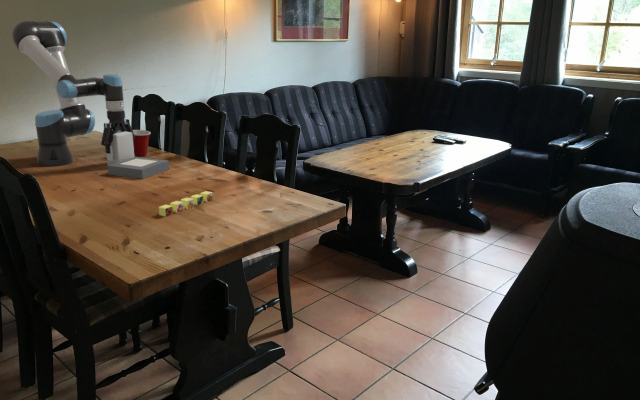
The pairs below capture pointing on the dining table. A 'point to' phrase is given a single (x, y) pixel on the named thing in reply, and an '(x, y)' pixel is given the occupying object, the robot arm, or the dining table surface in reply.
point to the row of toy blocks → (185, 203)
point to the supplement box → (121, 147)
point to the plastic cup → (141, 142)
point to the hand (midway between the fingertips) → (120, 157)
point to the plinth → (138, 167)
